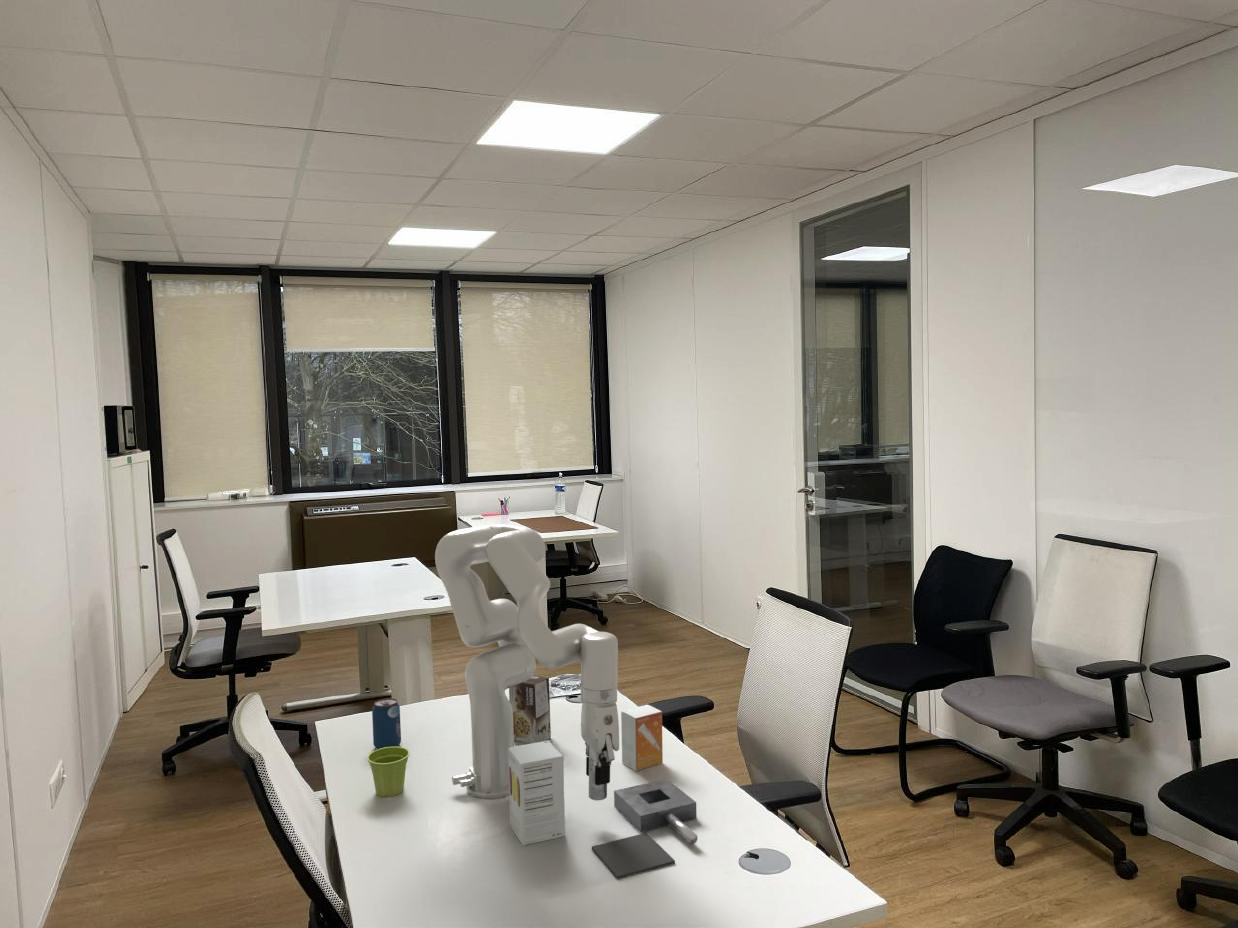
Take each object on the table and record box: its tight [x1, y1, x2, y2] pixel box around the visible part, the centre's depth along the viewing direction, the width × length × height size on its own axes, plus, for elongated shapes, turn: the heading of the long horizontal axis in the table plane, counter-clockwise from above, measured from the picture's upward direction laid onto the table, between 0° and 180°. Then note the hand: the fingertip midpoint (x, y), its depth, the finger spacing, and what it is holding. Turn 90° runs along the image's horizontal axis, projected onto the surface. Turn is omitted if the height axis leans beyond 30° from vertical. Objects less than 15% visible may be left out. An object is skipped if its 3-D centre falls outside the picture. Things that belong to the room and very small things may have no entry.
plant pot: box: [366, 746, 411, 798], centre depth 194 cm, size 9×9×9 cm
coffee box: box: [508, 674, 552, 744], centre depth 224 cm, size 9×6×16 cm
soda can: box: [371, 697, 402, 750], centre depth 220 cm, size 7×7×12 cm
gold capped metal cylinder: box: [588, 746, 608, 801], centre depth 176 cm, size 4×4×13 cm
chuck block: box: [613, 778, 698, 845], centre depth 176 cm, size 13×23×4 cm, turn 25°
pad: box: [591, 832, 676, 880], centre depth 163 cm, size 12×12×1 cm
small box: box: [620, 704, 664, 772], centre depth 206 cm, size 8×6×13 cm
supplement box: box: [508, 740, 566, 846], centre depth 174 cm, size 10×9×17 cm
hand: (597, 778), depth 176 cm, fingers closed on gold capped metal cylinder, 3 cm apart
